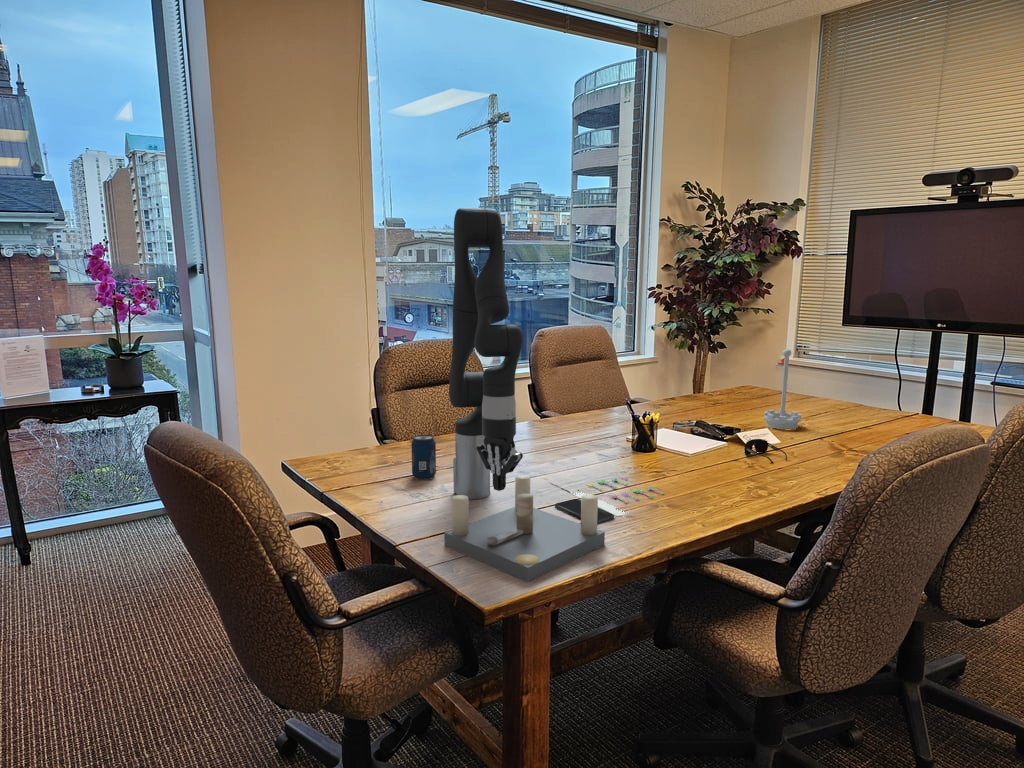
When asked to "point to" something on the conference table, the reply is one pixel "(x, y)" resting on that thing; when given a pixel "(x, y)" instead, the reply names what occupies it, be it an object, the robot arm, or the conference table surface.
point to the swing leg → (518, 520)
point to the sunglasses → (759, 447)
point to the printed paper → (609, 507)
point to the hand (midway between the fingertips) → (499, 489)
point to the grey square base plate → (525, 536)
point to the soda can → (423, 457)
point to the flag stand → (783, 404)
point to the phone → (574, 510)
